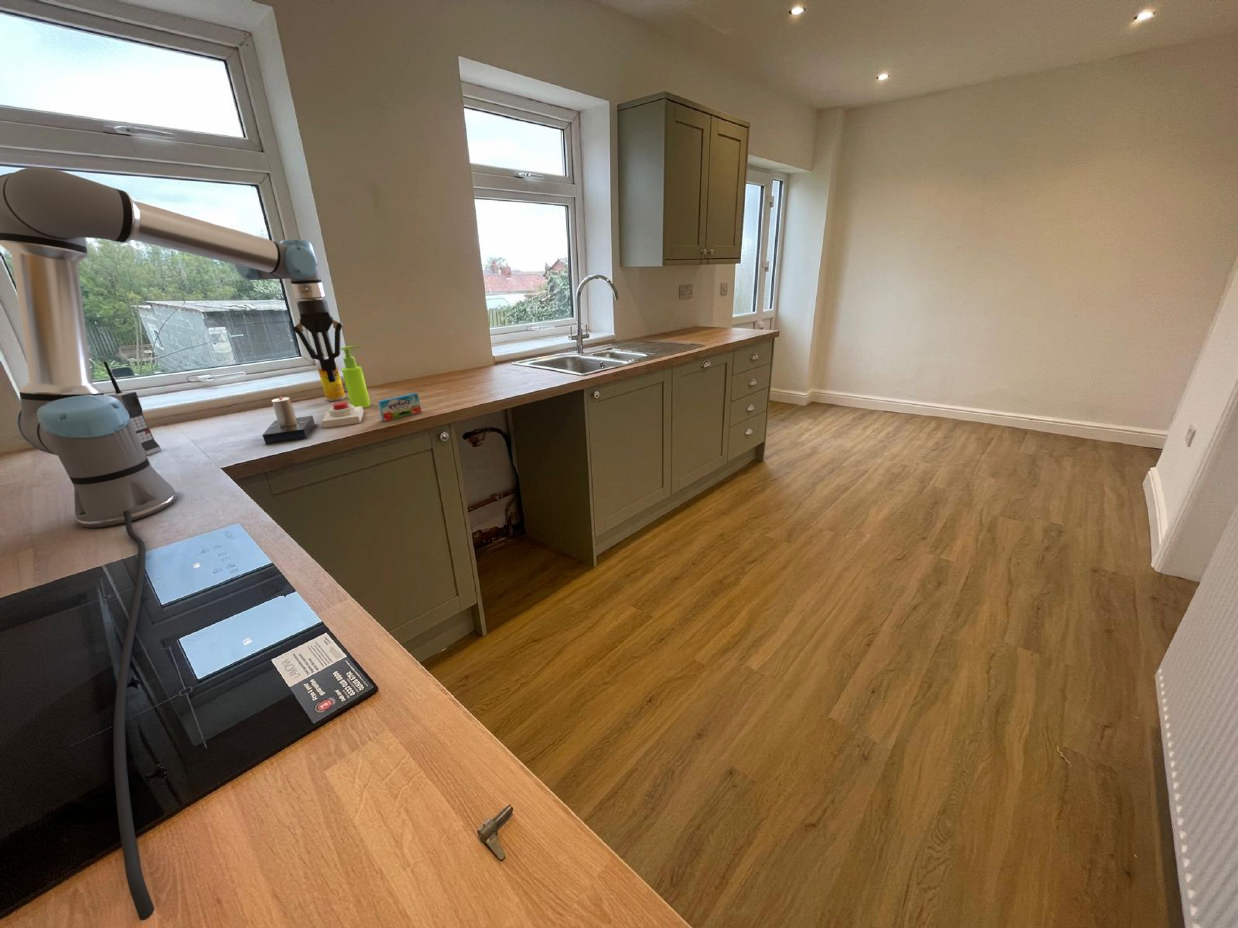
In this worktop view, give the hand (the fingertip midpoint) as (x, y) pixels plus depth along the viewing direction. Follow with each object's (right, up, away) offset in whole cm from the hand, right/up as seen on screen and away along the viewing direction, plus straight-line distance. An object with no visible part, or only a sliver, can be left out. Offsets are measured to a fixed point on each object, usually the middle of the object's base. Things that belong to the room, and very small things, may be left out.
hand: (332, 381), depth 151 cm
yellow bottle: (-15, -2, +29) cm, 33 cm away
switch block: (+1, -11, +5) cm, 13 cm away
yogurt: (+18, -10, +6) cm, 22 cm away
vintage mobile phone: (-42, -22, -15) cm, 50 cm away
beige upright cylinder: (-9, -14, -7) cm, 18 cm away
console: (-9, -16, -6) cm, 19 cm away
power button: (+1, -8, +4) cm, 9 cm away
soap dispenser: (-1, -5, +19) cm, 20 cm away
